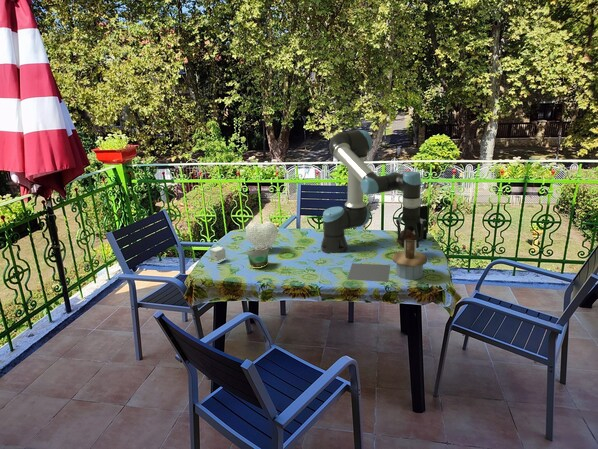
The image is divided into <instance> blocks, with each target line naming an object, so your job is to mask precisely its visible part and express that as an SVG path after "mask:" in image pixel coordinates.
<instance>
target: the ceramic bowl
mask: <svg viewBox="0 0 598 449" xmlns="http://www.w3.org/2000/svg"><path fill="white" fill-rule="evenodd" d="M395 275H396V276H398V278H400V279H404V280H418V279H420V278H422V277H423V276H424V265H421V266H413V267H412V266H402V265H399V264H396V274H395Z"/></svg>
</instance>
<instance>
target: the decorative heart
mask: <svg viewBox="0 0 598 449" xmlns="http://www.w3.org/2000/svg"><path fill="white" fill-rule="evenodd" d="M278 232H279V231H278V226H276V224H275V223H273V222H271V221H267V222H263V223H259V222H255V221H254V222H250V223H249V224H248V225H247V226H246V228H245V235H246V238H247V239H248V242H249V243H250V244H252V246H254V247H253V250H254V249H257V248H264V247H267V245H268V247H269V248H270V250H271V249H272V250H273V245H274V243H275V241H276V239H277V237H278Z"/></svg>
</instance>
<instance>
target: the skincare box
mask: <svg viewBox="0 0 598 449" xmlns="http://www.w3.org/2000/svg"><path fill="white" fill-rule="evenodd" d="M209 253H210V259H211V258H212V259H214V260H216V261H219V260H221V259H224V258H226V259H227V256H226V249H225V248H224V247H222V246H219V245H217V246H214V247H213V248H210V249H209Z"/></svg>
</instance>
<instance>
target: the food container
mask: <svg viewBox="0 0 598 449" xmlns="http://www.w3.org/2000/svg"><path fill="white" fill-rule="evenodd" d="M269 252H270V247H268V245H267V247H264V248H255V249H254V248H253V249H252V250H249V249H246V255H247V256H248V262H249V266H250V265H251V266H253V267H261V266H264V265H266V264H267V263H268V264H269Z"/></svg>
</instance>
